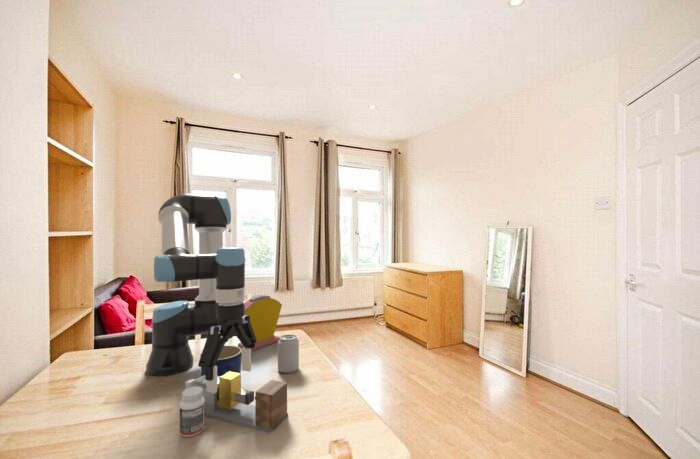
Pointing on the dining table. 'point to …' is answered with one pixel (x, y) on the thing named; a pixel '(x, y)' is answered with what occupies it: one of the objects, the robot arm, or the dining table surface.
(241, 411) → the board
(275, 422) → the socket
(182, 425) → the pill bottle
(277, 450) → the dining table surface
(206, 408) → the sleeve
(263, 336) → the yellow fan-shaped sign
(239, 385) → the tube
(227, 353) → the planter
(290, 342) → the can
